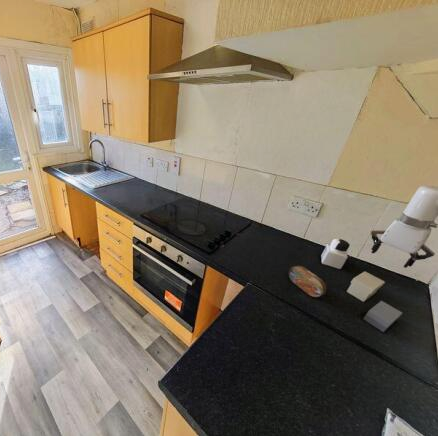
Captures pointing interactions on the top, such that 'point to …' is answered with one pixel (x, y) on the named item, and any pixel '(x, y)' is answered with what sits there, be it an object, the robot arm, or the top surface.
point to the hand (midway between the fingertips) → (389, 259)
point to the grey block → (382, 316)
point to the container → (335, 253)
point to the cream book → (367, 282)
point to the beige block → (359, 292)
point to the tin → (307, 281)
